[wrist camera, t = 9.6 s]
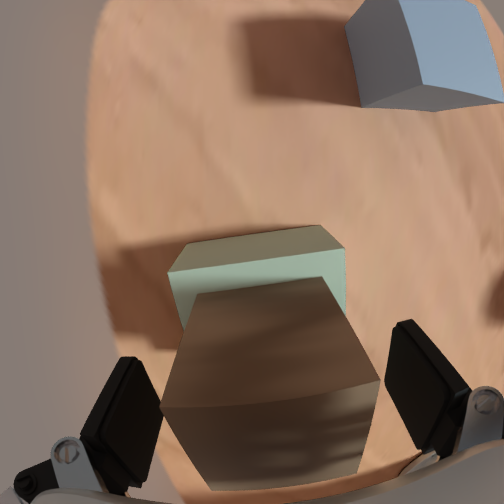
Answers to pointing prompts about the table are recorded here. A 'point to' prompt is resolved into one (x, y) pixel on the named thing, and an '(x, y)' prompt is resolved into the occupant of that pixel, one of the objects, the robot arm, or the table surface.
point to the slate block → (422, 55)
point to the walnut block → (270, 387)
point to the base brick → (257, 264)
